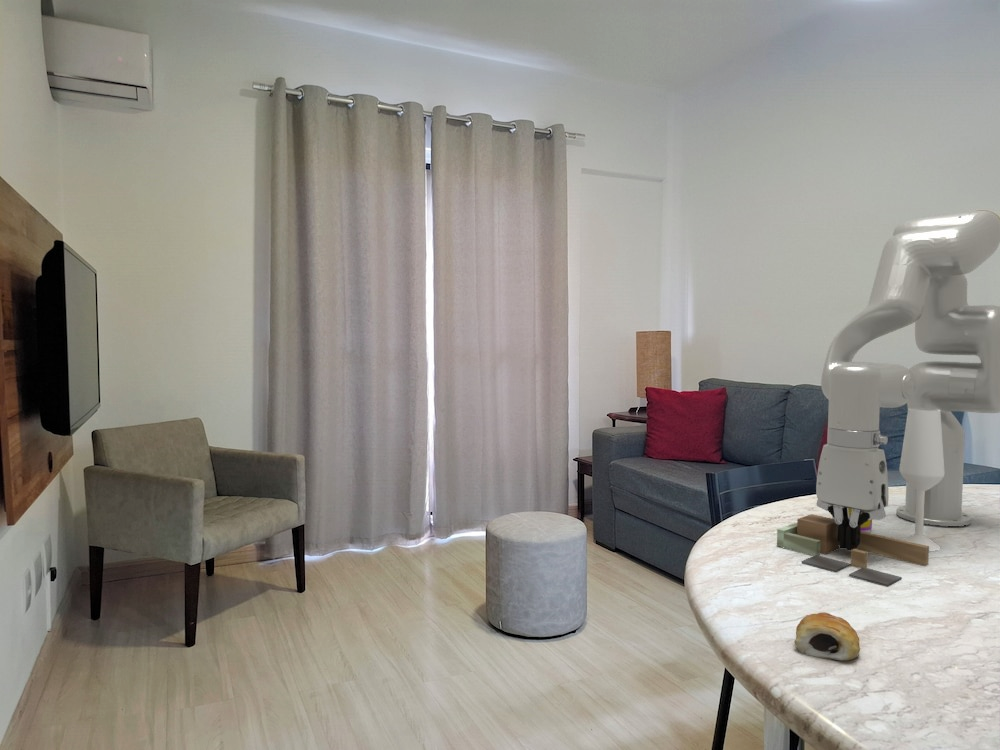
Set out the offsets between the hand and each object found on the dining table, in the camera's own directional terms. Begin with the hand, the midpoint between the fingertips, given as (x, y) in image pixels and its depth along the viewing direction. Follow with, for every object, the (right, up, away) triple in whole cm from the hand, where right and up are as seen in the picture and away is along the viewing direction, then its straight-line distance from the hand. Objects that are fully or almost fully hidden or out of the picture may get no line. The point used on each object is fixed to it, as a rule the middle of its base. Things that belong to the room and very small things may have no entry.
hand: (848, 547), depth 112 cm
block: (-3, -1, +4) cm, 5 cm away
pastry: (-20, -4, -33) cm, 38 cm away
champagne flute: (+15, -1, +6) cm, 16 cm away
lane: (-2, -1, -1) cm, 3 cm away
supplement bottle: (+8, -1, +14) cm, 16 cm away
